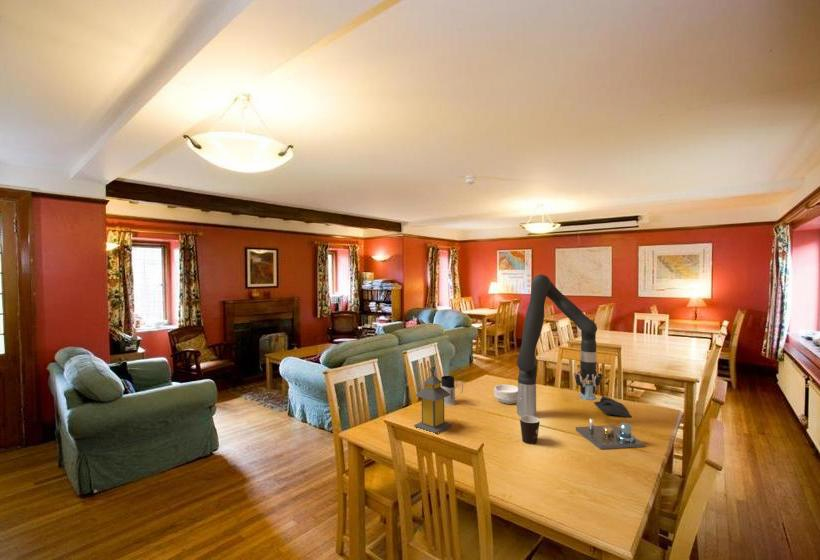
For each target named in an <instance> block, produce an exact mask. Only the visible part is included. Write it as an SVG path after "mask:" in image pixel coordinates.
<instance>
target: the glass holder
mask: <svg viewBox="0 0 820 560" xmlns="http://www.w3.org/2000/svg"><path fill="white" fill-rule="evenodd" d="M440 381H441V383H440V387H442V388H443V389H444V390H446V391H447V392H448V393H450V394H451V395H450V396H447V397H445V398H444V406H455V405H456V404H457V403H456V399H457V398H459V397H460V396H461V395H462V393H463V391H464V384H463V382H461V381H457V382H455V377H454V376H453V375H443V376H441V379H440ZM458 383H460V384H461V391H460V394H459V395H457V396H456V388H457V387H458ZM455 396H456V397H455Z"/></svg>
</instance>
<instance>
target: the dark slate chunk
mask: <svg viewBox="0 0 820 560" xmlns="http://www.w3.org/2000/svg"><path fill="white" fill-rule="evenodd" d="M593 403H594V404H595V405H596V407H597V406H598V407H597V408H598V409H600V410H601V411H602V412H603V413H604V414H606V415H608V416H615V417H620V418H621V417H623V418H633V416H632V415H631V413H630V412H629V411H628V409H627V407H626V406H625V405H624V404H623V403H621V402H619V401H617V400H615V399H613V398H611V397H607V396H605V395H602V396H601V398H600V400H599V401H593Z"/></svg>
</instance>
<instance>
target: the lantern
mask: <svg viewBox="0 0 820 560" xmlns="http://www.w3.org/2000/svg"><path fill="white" fill-rule="evenodd" d="M429 370H430V371H429V372H430V374H431V375H430V376H429V377H428V378H427V379H425V381H423V383H424V387H423V388H422V389H421V390H419V391H418V392H417V393H416V394H415V395H414V396H415V397H419V398H421V421H420V422H418V423H416V424H414V428H415V427H416V428H415V429H417V428H420V429H423V430H426V431H429V432H433V433H435V434H436V435H438V434H437V433H438V432H441V431H443V432H445V431H446V430H449V429H450V428H452V426H453V424H452V423H451V422H447V421H446V420H445V405H444V398H445V397H447V396H450V395H451V394H450V393H448V392H447V391H446V390H444V389H443V388H442V387H441V379H439V378H438V377H436V376H435V370H436V367H435V366H430V367H429ZM420 429H419V430H420ZM444 430H445V431H444ZM441 433H442V432H441Z"/></svg>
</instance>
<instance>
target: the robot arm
mask: <svg viewBox="0 0 820 560" xmlns="http://www.w3.org/2000/svg"><path fill="white" fill-rule="evenodd" d="M530 284H531V287H530V288H531V290H530V299H529V303H528V306H527V310H526V314H525V318H524V322H523V329H522V338H521V345H520V349H519V352H518V356H517V359H516V366H517V368H518V376H517V387H518V395H517V401H516V413H517V414H518V416H519V417H521V416H534V417H537V377H538V360H537V357H536V349H537V345H538V342H539V340H540V338H541V334H542V331H543V326H544V321H545V320H544V319H545V304H546V300H547V299H546V298H548V299H549V300H550V301H551V302H552V303H553V304H554V305H555V306H556V307H557V309H559V310H560V312H562V313H563V315H565V317H567V318H568V319H569V320H570V321H571V322H573V323H574V325H575V326H576V327H578V328H579V330H580V335H581V342H580V356H579V360H580V361H579V369H580V370H579V372H577V373H575V372H574V374H573V376H574V379H575V382H576V383H575V384H576V385H578V386H579V387H580V391H579V392H580V394H585V384H586V383H587V384H588V381H589V382H590V384H592V385H593V395H595V393H596V387H598V386H600V385H601V381H602V377H603V374H602V373H600V372H597V363H598V361H597V359H598V355H597V340H596V338H597V337H596V336H597V331H598V325H597V324H596V322H595V321H594V320H592V319H590V318H589V317H588V316H587V315H586V314H584V312H583V311H582V310H581V309H580V308H579V307H578V306H577V305H576V304H575V303H574V302H573V301H572V300H570V299H569V298H567V296H565V295H564V294H563V293H562V292H561V291H560V290H559V289H558V288H557V287H556V286H555V284H554V283H553V282H552V281H551V279H550V277H549V276H547V275H545V274H543V273H542V274H537V275H535V276H534V277H533V278H532V280H531V283H530Z"/></svg>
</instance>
